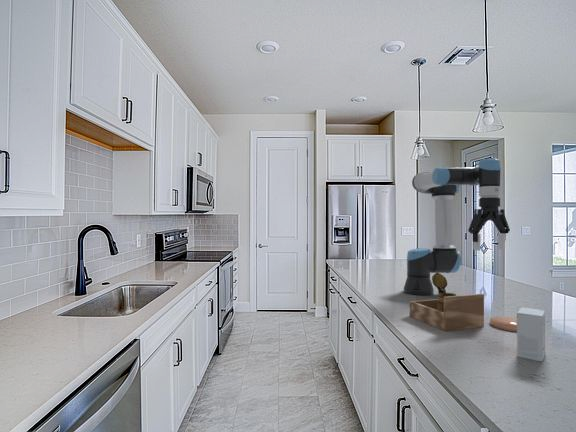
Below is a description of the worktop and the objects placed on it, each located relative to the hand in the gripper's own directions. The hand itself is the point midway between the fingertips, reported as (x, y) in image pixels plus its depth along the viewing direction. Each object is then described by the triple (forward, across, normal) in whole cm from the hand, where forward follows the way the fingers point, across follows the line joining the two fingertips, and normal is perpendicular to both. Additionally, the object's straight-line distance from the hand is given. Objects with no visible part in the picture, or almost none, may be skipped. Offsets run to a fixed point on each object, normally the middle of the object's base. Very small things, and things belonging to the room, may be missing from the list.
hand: (489, 249), depth 147 cm
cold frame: (+27, -21, +2) cm, 35 cm away
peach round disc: (+27, -2, -12) cm, 30 cm away
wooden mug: (+28, -21, +2) cm, 35 cm away
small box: (+28, -24, -34) cm, 49 cm away
